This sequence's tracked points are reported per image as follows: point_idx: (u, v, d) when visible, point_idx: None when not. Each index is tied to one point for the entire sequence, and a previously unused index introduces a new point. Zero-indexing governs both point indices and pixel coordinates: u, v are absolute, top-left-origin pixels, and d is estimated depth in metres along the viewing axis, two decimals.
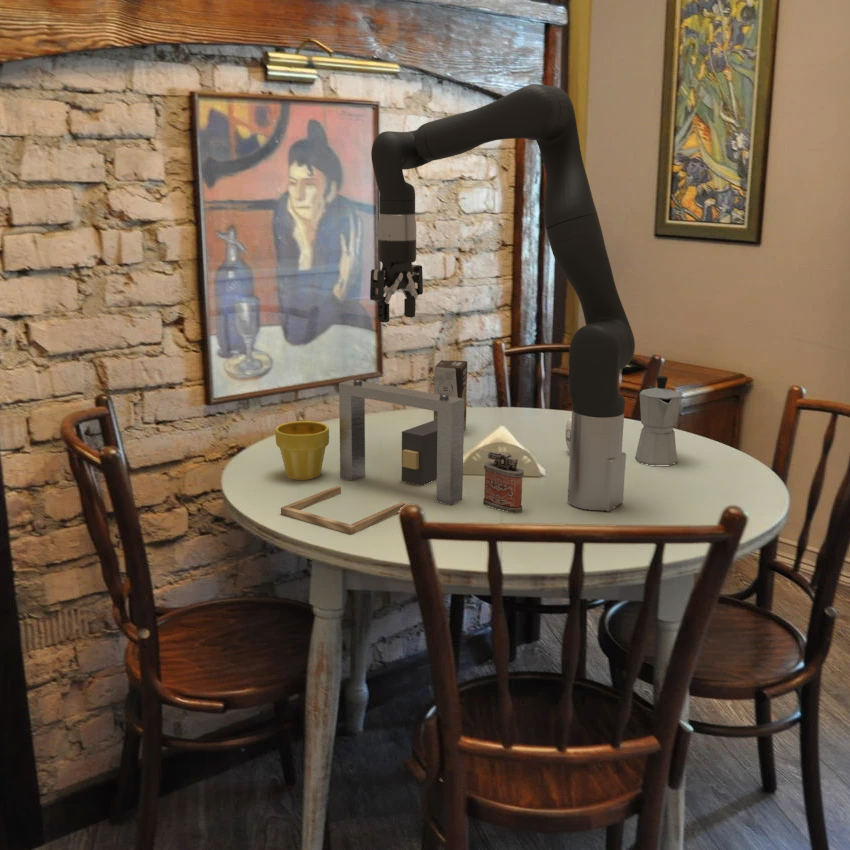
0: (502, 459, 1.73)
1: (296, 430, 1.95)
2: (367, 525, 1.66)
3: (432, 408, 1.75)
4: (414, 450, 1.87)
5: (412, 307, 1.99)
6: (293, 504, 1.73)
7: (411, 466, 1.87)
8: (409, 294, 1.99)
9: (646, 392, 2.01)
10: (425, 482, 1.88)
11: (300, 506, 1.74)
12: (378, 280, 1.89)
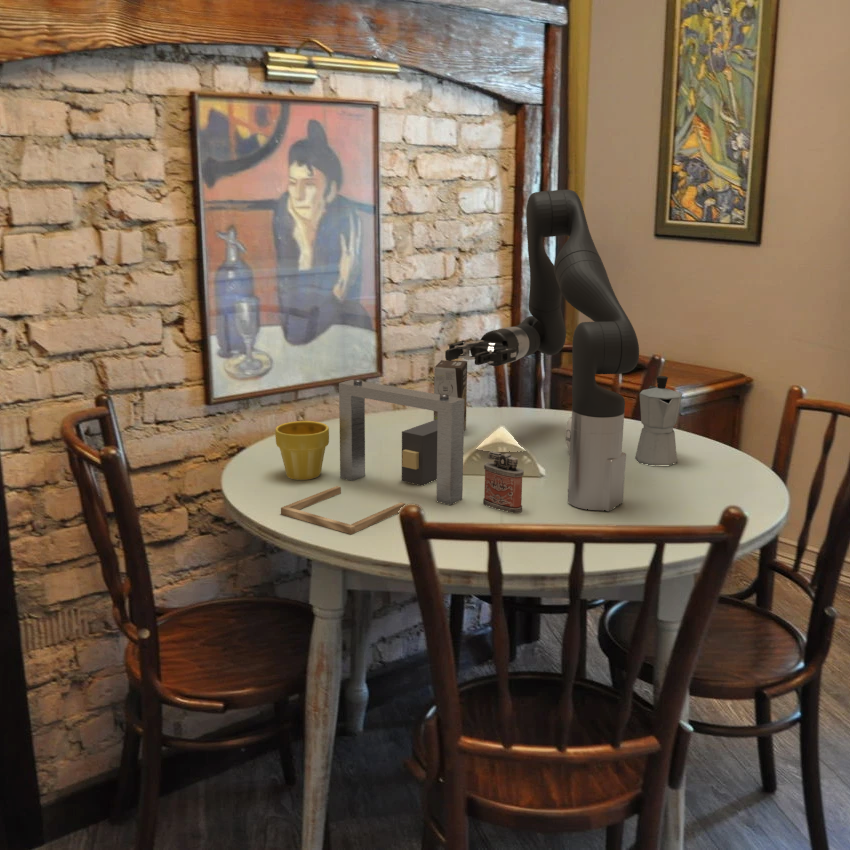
0: (502, 459, 1.73)
1: (295, 430, 1.95)
2: (367, 525, 1.66)
3: (432, 408, 1.75)
4: (414, 450, 1.87)
5: None
6: (293, 504, 1.73)
7: (411, 466, 1.87)
8: None
9: (646, 392, 2.01)
10: (425, 482, 1.88)
11: (300, 506, 1.74)
12: None
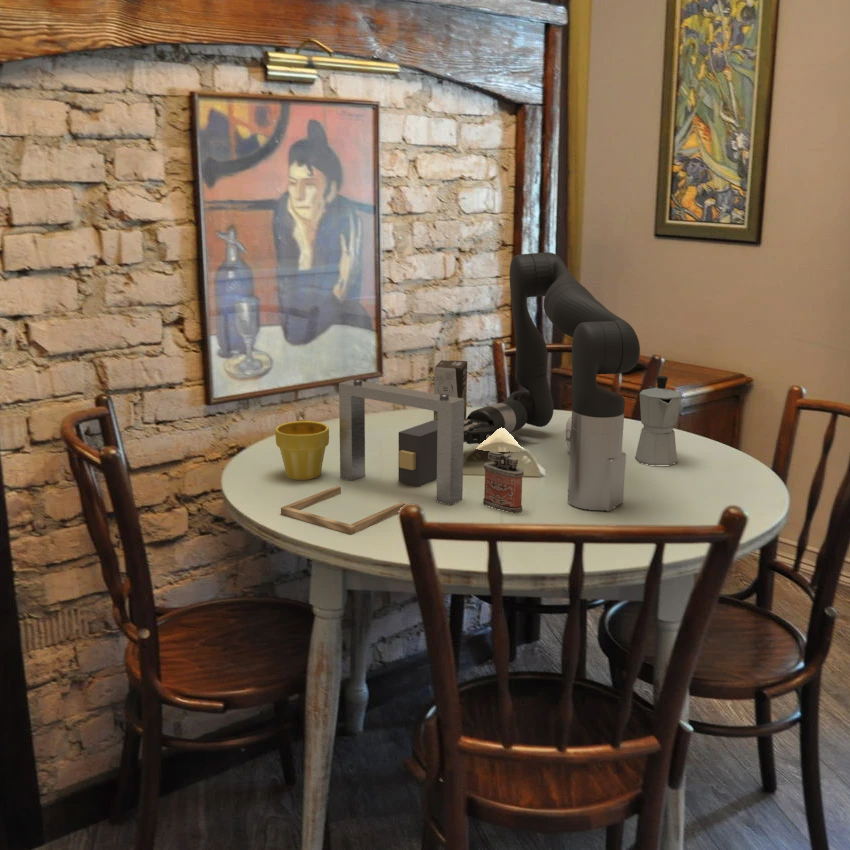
0: (502, 459, 1.73)
1: (295, 430, 1.95)
2: (367, 525, 1.66)
3: (432, 408, 1.75)
4: (411, 451, 1.86)
5: None
6: (293, 504, 1.73)
7: (408, 467, 1.86)
8: None
9: (646, 392, 2.01)
10: (422, 483, 1.88)
11: (300, 506, 1.74)
12: None
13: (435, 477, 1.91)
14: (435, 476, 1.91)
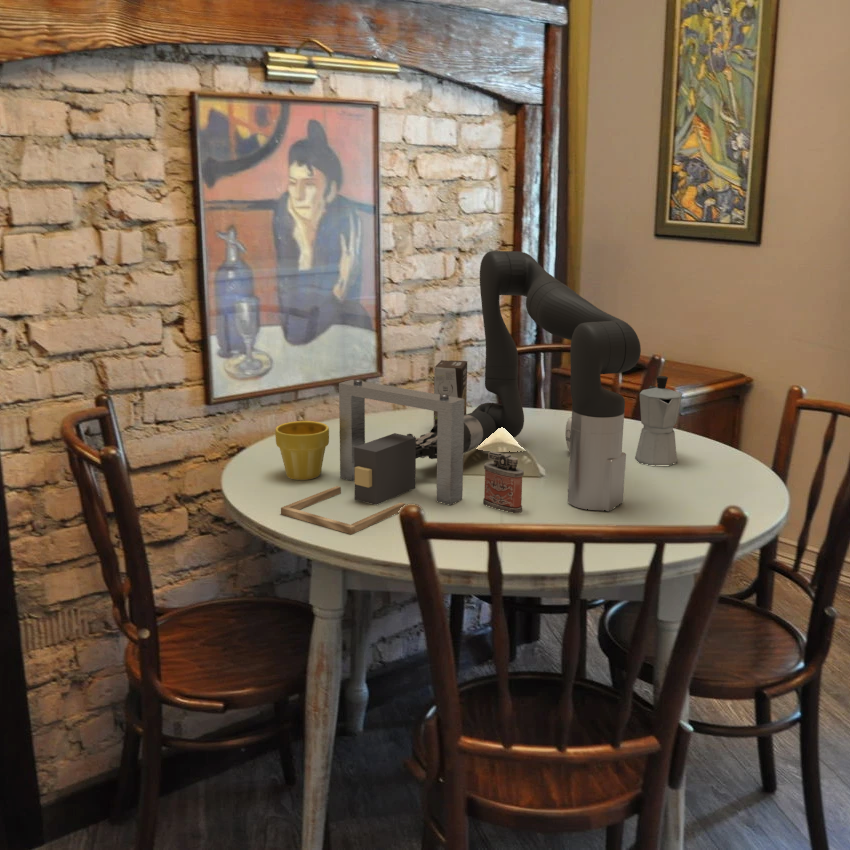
0: (502, 459, 1.73)
1: (295, 430, 1.95)
2: (367, 525, 1.66)
3: (432, 408, 1.75)
4: (367, 467, 1.76)
5: None
6: (293, 504, 1.73)
7: (363, 484, 1.76)
8: None
9: (646, 392, 2.01)
10: (379, 501, 1.77)
11: (300, 506, 1.74)
12: None
13: (394, 494, 1.81)
14: (394, 493, 1.81)
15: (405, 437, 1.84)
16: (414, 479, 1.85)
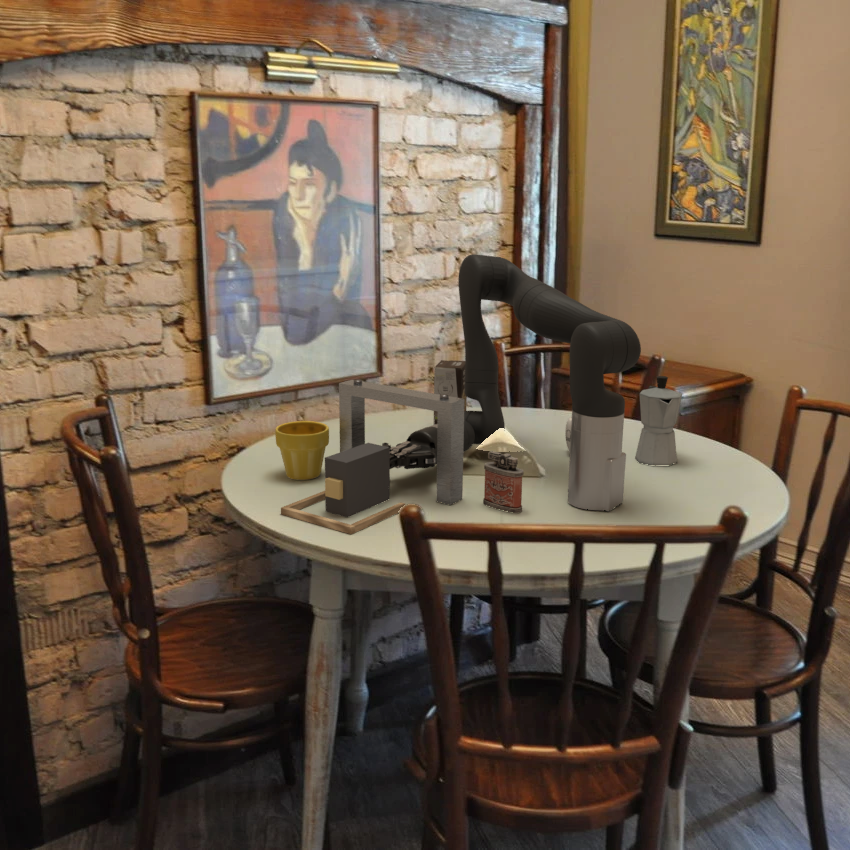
0: (502, 459, 1.73)
1: (296, 430, 1.95)
2: (367, 525, 1.66)
3: (432, 408, 1.75)
4: (338, 478, 1.70)
5: None
6: (293, 504, 1.73)
7: (334, 496, 1.70)
8: None
9: (646, 392, 2.01)
10: (350, 513, 1.71)
11: (300, 506, 1.74)
12: None
13: (366, 506, 1.75)
14: (366, 505, 1.74)
15: (378, 446, 1.78)
16: (388, 490, 1.79)
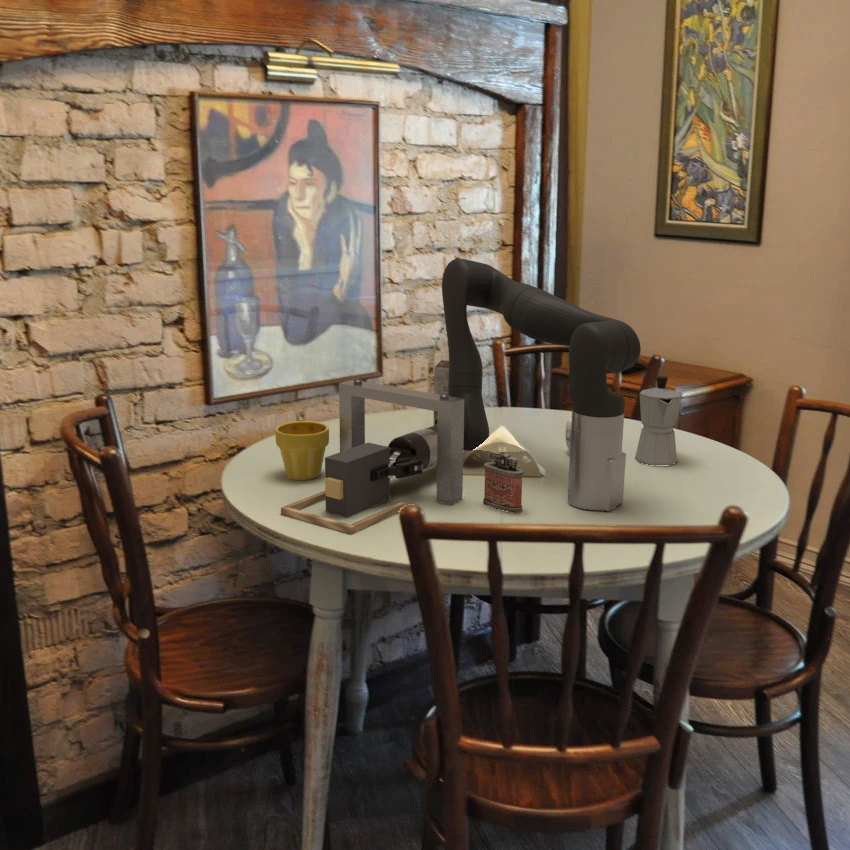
0: (502, 459, 1.73)
1: (295, 430, 1.95)
2: (367, 525, 1.66)
3: (432, 408, 1.75)
4: (338, 478, 1.70)
5: None
6: (293, 504, 1.73)
7: (334, 496, 1.70)
8: None
9: (646, 392, 2.01)
10: (351, 513, 1.71)
11: (300, 506, 1.74)
12: None
13: (366, 506, 1.74)
14: (366, 505, 1.74)
15: (378, 446, 1.77)
16: (388, 490, 1.79)
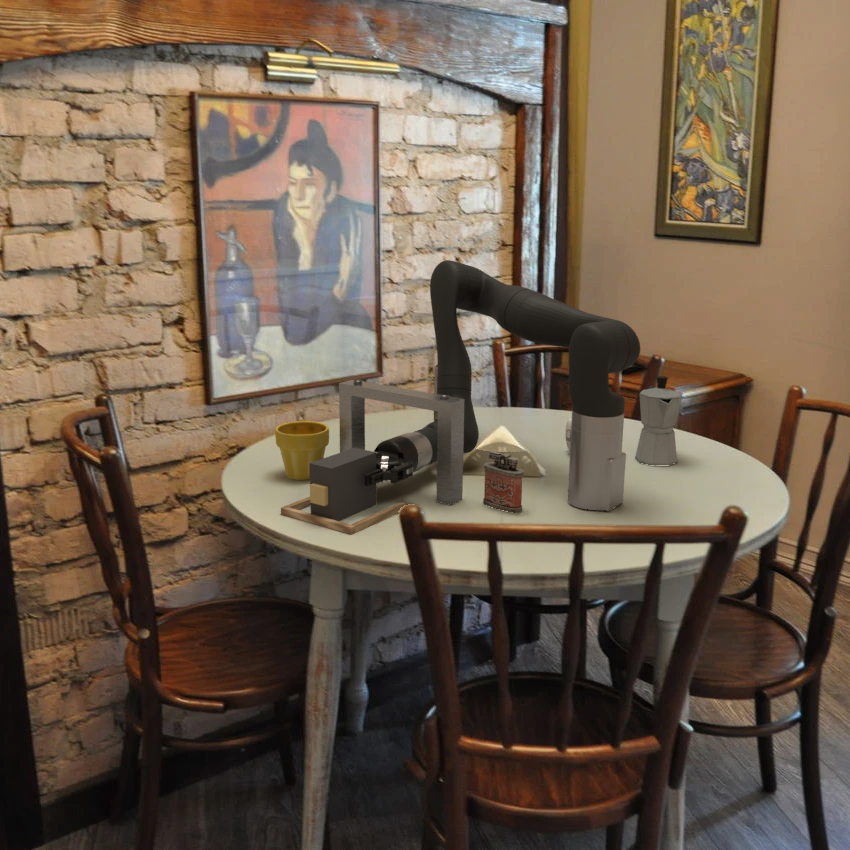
0: (502, 459, 1.73)
1: (296, 430, 1.95)
2: (367, 525, 1.66)
3: (432, 408, 1.75)
4: (323, 484, 1.67)
5: None
6: (293, 504, 1.73)
7: (319, 502, 1.67)
8: None
9: (646, 392, 2.01)
10: (336, 520, 1.68)
11: (300, 506, 1.74)
12: None
13: (352, 513, 1.71)
14: (352, 511, 1.71)
15: (365, 451, 1.74)
16: (375, 496, 1.76)
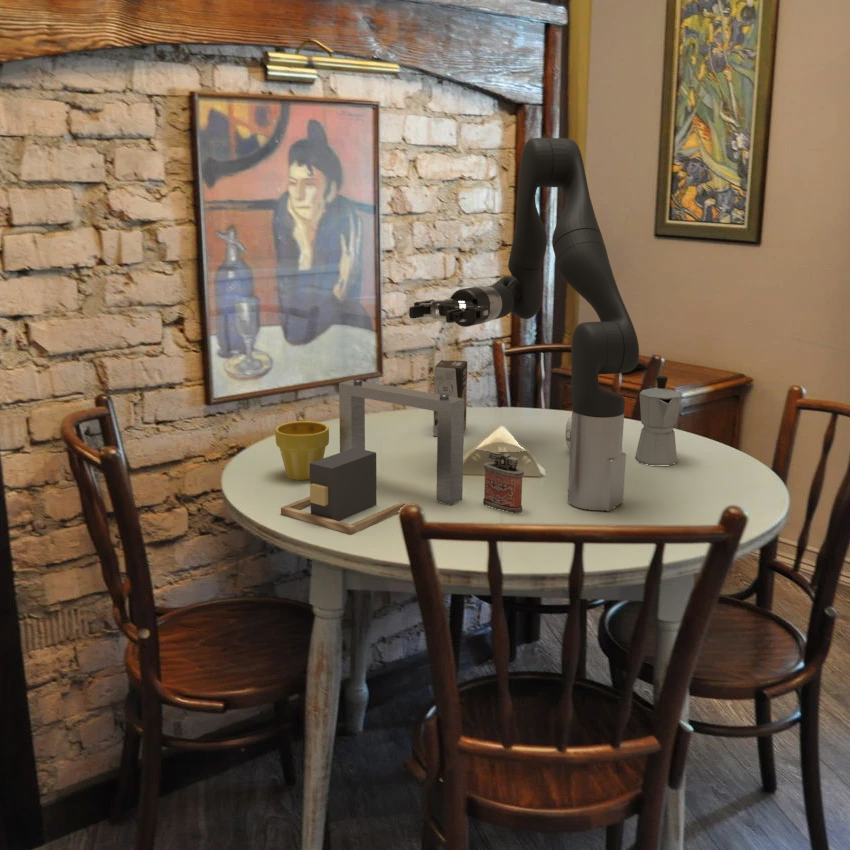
0: (502, 459, 1.73)
1: (295, 430, 1.95)
2: (367, 525, 1.66)
3: (432, 408, 1.75)
4: (323, 484, 1.67)
5: None
6: (293, 504, 1.73)
7: (319, 502, 1.67)
8: None
9: (646, 392, 2.01)
10: (336, 520, 1.68)
11: (300, 506, 1.74)
12: None
13: (352, 513, 1.71)
14: (352, 512, 1.71)
15: (365, 451, 1.74)
16: (375, 496, 1.76)
